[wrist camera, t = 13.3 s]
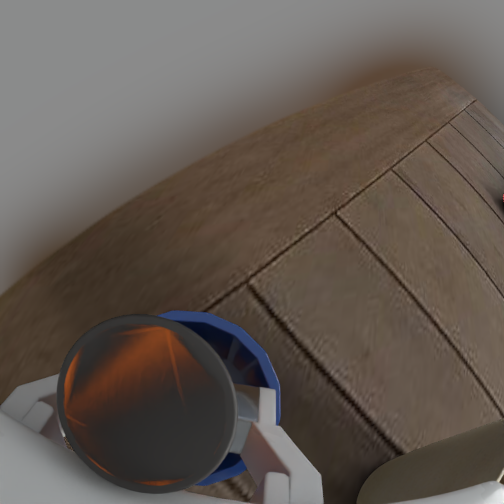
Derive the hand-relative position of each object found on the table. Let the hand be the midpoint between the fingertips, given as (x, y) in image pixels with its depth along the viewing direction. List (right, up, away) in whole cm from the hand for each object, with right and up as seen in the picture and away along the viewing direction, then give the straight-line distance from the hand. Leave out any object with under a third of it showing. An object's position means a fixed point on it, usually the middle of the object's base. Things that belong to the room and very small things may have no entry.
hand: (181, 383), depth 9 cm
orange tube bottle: (-1, -3, +6) cm, 7 cm away
